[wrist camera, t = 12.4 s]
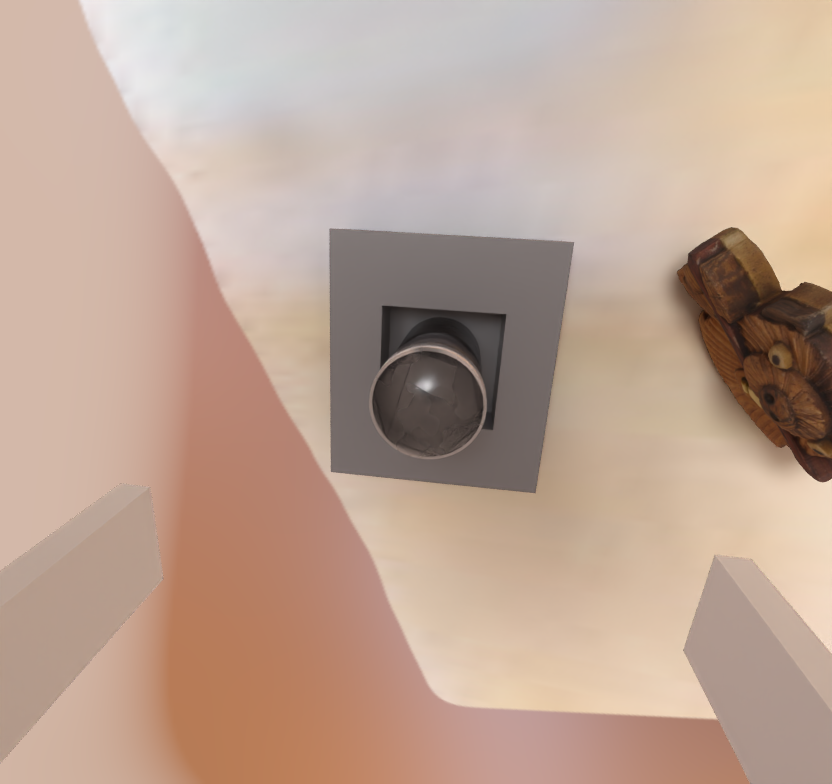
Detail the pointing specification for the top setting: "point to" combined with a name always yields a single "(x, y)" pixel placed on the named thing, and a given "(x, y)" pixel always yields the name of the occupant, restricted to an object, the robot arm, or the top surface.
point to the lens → (431, 391)
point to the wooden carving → (767, 344)
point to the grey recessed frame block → (470, 305)
